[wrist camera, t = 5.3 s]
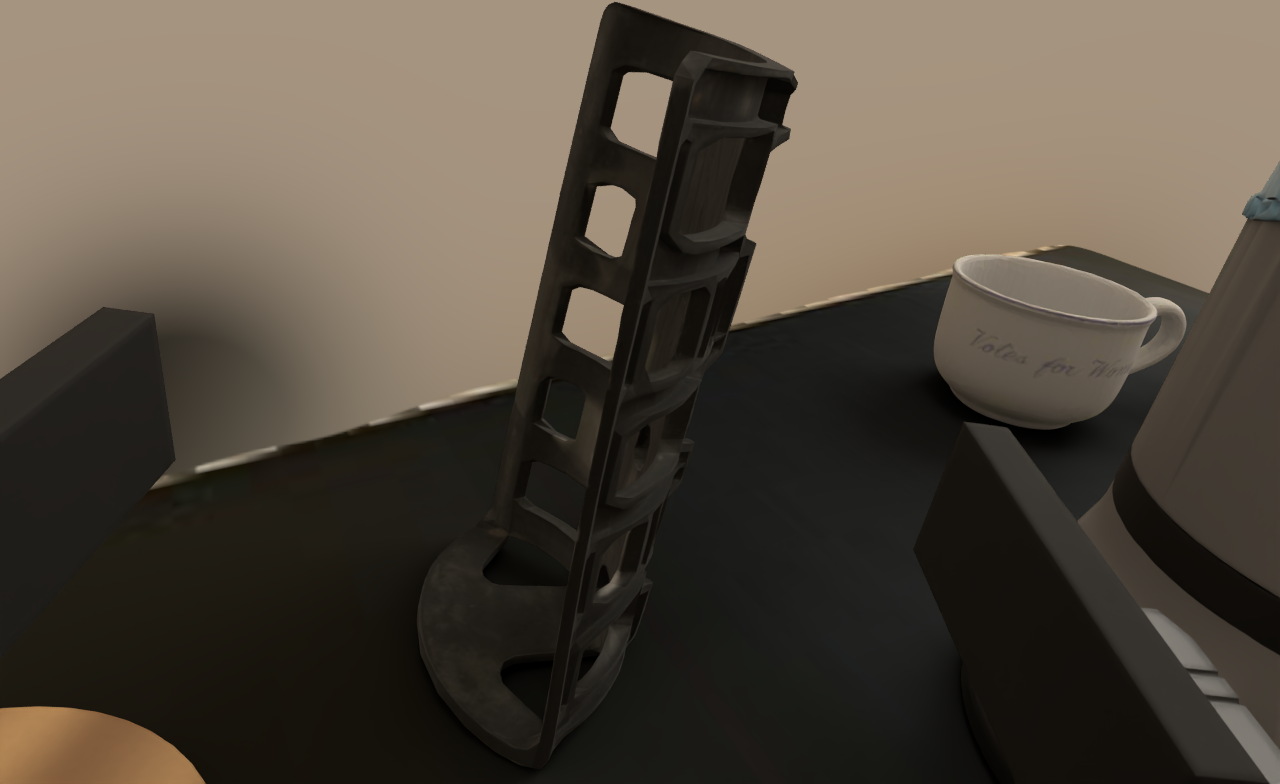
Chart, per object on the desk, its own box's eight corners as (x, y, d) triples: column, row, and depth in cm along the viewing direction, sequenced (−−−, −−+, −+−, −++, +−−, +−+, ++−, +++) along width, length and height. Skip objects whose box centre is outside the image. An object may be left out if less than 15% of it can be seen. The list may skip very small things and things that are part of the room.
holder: (387, 537, 32) (463, -38, 23) (571, 523, 35) (700, 21, 26) (452, 793, 23) (616, 38, 14) (686, 741, 27) (936, 110, 18)
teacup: (929, 429, 46) (979, 296, 42) (903, 347, 55) (941, 232, 51) (1185, 480, 45) (1260, 349, 41) (1114, 388, 55) (1169, 274, 51)
